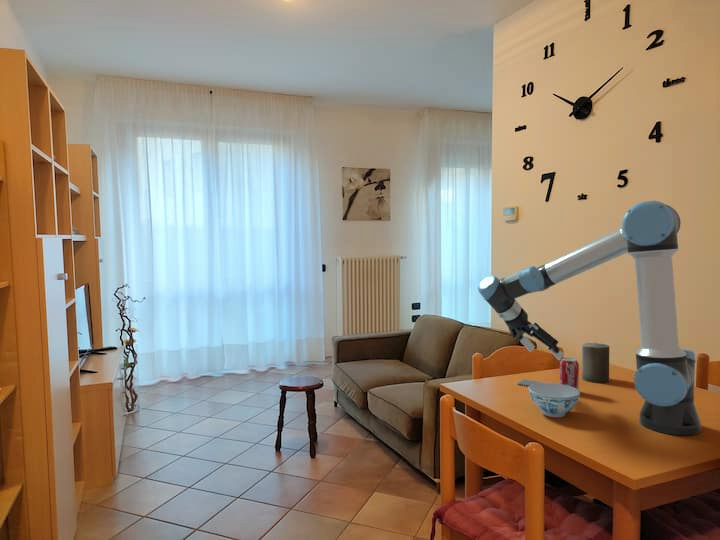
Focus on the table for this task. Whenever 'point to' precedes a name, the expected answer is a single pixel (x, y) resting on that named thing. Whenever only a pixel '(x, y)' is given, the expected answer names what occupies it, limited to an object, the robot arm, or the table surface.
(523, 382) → the mat
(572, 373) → the beverage can
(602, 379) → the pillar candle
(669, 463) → the table surface
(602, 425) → the table surface
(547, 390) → the chinaware
